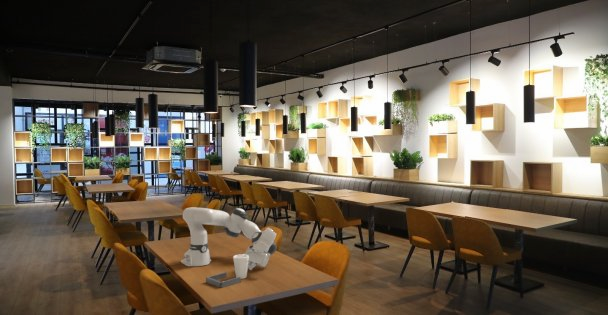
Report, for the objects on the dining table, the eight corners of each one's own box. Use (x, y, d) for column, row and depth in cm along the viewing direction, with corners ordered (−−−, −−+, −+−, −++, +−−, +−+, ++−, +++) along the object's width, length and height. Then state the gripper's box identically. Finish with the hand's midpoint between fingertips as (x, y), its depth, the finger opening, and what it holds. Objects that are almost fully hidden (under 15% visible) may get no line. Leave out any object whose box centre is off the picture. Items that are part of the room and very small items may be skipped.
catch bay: (206, 282, 247) (206, 277, 247) (225, 276, 257) (225, 272, 257) (220, 287, 237) (220, 282, 237) (240, 282, 247) (240, 277, 247)
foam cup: (237, 280, 250) (237, 259, 250) (231, 276, 258) (230, 255, 257) (251, 277, 255) (251, 256, 255) (245, 273, 263) (244, 253, 263)
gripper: (274, 255, 261) (262, 275, 254) (252, 250, 275) (241, 268, 268) (268, 250, 258) (257, 269, 251) (247, 245, 271) (235, 263, 265)
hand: (248, 269), depth 260 cm, fingers closed, pressing on foam cup
